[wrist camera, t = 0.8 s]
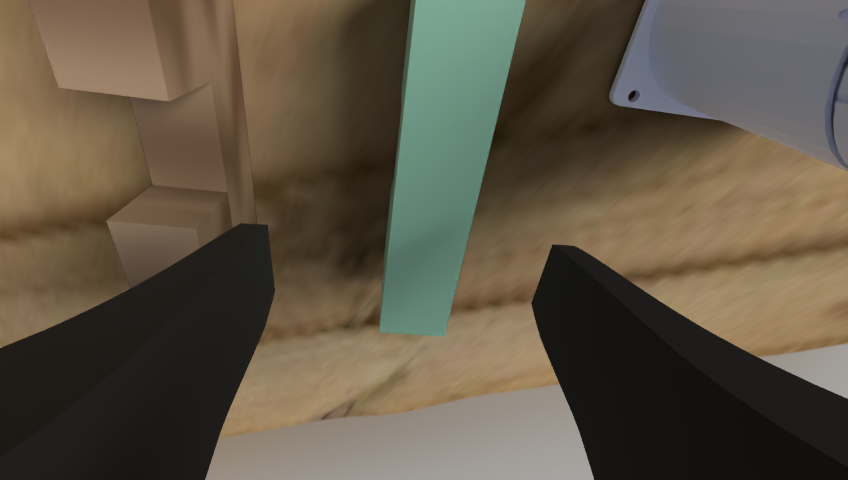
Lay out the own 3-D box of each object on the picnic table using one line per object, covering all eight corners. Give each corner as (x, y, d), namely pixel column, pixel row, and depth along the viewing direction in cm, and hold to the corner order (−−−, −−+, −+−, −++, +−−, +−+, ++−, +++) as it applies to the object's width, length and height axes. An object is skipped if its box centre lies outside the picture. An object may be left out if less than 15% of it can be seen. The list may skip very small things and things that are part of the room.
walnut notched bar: (120, -167, 12) (-69, -273, 7) (216, -148, 13) (98, -236, 8) (208, 268, 22) (152, 350, 17) (262, 273, 22) (222, 353, 17)
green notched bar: (414, -38, 15) (422, -54, 10) (489, -25, 15) (533, -33, 10) (384, 255, 22) (379, 332, 17) (434, 259, 23) (444, 336, 18)
